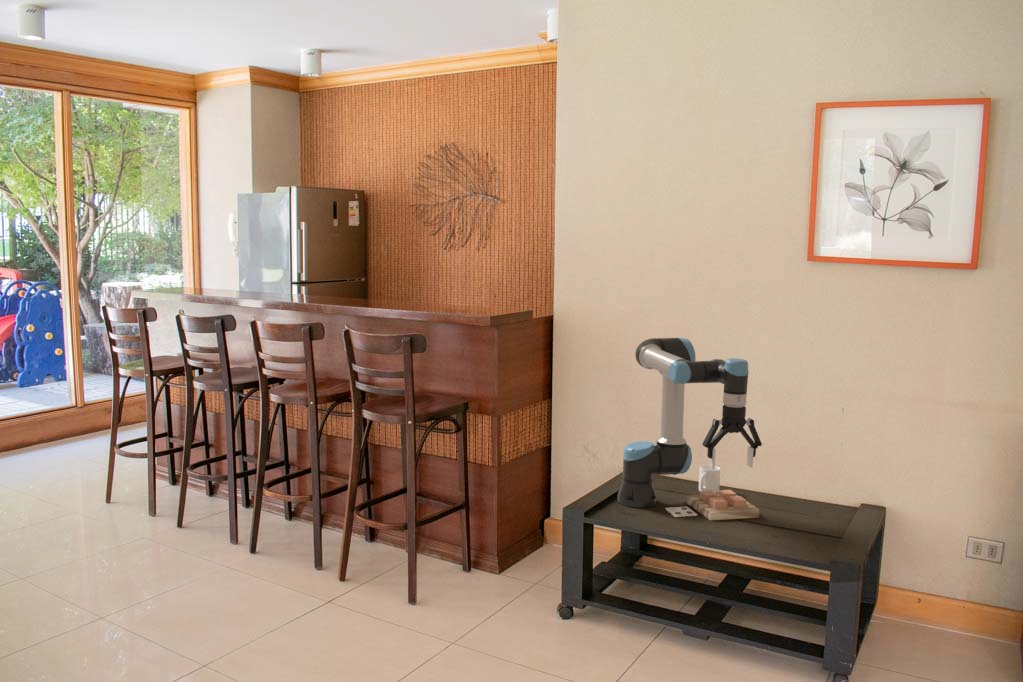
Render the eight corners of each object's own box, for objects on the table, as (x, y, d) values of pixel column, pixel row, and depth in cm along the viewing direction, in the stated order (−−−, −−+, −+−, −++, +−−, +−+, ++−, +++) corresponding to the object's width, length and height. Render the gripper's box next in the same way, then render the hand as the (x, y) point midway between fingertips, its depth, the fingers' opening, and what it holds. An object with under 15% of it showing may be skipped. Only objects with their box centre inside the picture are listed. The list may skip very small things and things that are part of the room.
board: (686, 503, 324) (687, 495, 324) (733, 500, 329) (733, 493, 328) (710, 520, 305) (710, 512, 305) (759, 517, 310) (759, 509, 309)
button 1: (699, 500, 321) (699, 491, 321) (711, 499, 323) (711, 490, 322) (705, 504, 317) (705, 495, 316) (716, 503, 318) (717, 494, 317)
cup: (722, 491, 340) (723, 467, 339) (710, 498, 331) (711, 473, 330) (703, 487, 345) (705, 463, 344) (691, 494, 336) (692, 469, 335)
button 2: (708, 507, 314) (709, 497, 313) (720, 506, 315) (721, 497, 314) (714, 511, 309) (715, 502, 308) (726, 510, 310) (727, 501, 310)
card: (665, 509, 316) (665, 507, 316) (686, 508, 318) (687, 506, 318) (675, 517, 308) (675, 515, 308) (697, 515, 310) (697, 513, 310)
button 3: (718, 499, 323) (718, 490, 323) (729, 498, 324) (730, 489, 324) (724, 503, 318) (724, 494, 318) (735, 502, 320) (736, 493, 319)
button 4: (727, 505, 316) (728, 496, 315) (739, 505, 317) (740, 496, 316) (734, 510, 311) (734, 500, 310) (746, 509, 312) (746, 500, 311)
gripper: (703, 408, 270) (700, 471, 273) (774, 406, 274) (770, 468, 277) (694, 403, 277) (691, 464, 280) (763, 402, 281) (760, 462, 284)
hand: (730, 466), depth 278 cm, fingers open, 13 cm apart
